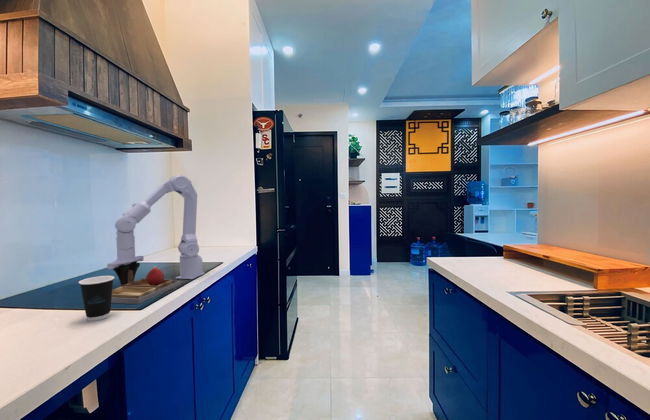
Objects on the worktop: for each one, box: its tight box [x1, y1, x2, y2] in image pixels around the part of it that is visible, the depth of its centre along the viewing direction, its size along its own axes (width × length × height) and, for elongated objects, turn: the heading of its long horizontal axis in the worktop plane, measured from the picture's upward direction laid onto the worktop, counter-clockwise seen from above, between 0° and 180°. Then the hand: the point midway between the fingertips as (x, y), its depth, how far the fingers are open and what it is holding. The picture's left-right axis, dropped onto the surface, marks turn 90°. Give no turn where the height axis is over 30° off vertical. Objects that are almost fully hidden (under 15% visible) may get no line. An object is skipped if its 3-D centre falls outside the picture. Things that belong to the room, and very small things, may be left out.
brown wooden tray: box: [111, 280, 182, 305], centre depth 103 cm, size 21×15×2 cm
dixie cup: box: [78, 275, 115, 322], centre depth 81 cm, size 8×8×11 cm
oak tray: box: [112, 286, 157, 298], centre depth 98 cm, size 9×18×6 cm, turn 81°
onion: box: [145, 265, 165, 286], centre depth 107 cm, size 6×6×8 cm
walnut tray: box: [120, 270, 175, 289], centre depth 108 cm, size 9×18×6 cm, turn 81°
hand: (127, 283), depth 109 cm, fingers closed on walnut tray, 2 cm apart
